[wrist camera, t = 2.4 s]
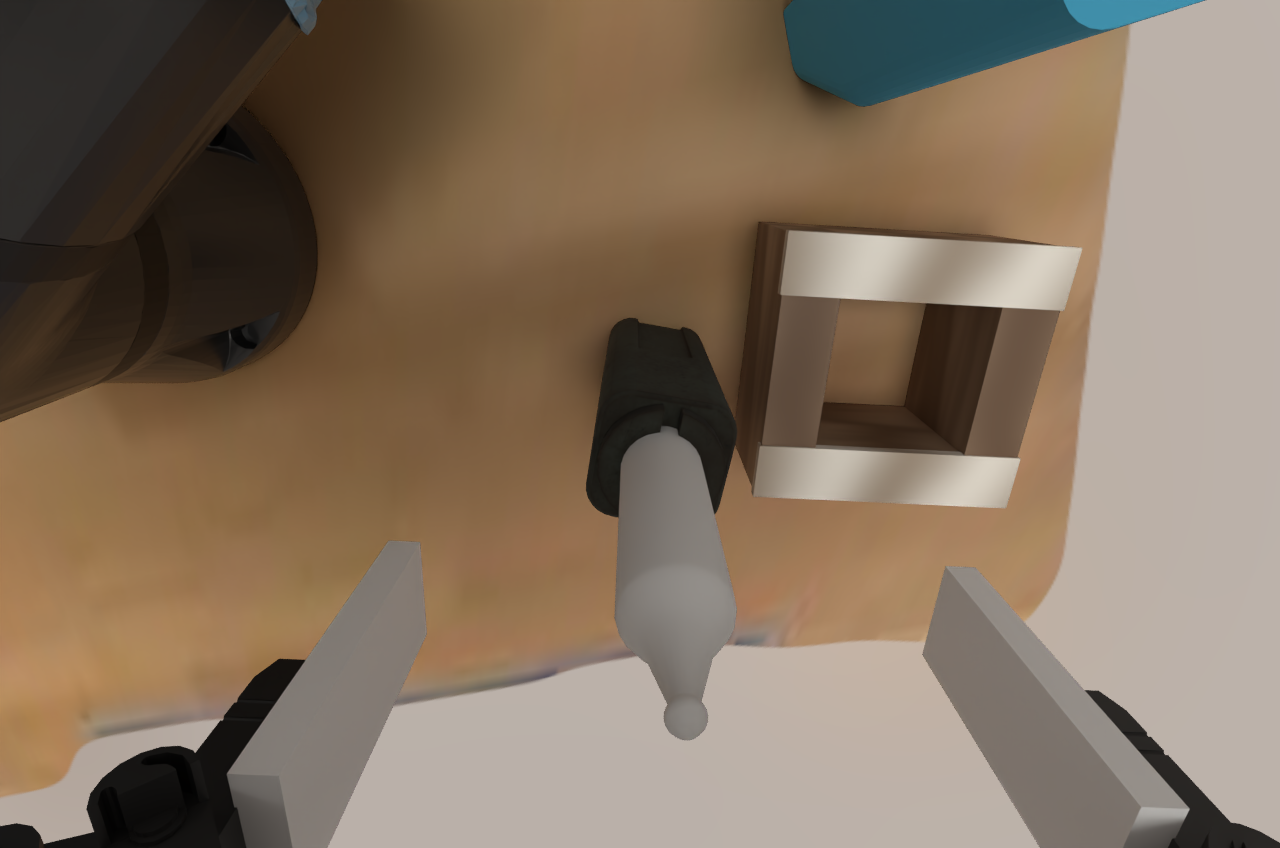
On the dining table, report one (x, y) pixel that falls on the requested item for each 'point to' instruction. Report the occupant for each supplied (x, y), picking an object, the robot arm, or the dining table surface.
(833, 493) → the holder
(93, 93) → the robot arm
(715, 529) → the grey and black rod
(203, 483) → the dining table surface
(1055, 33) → the block
